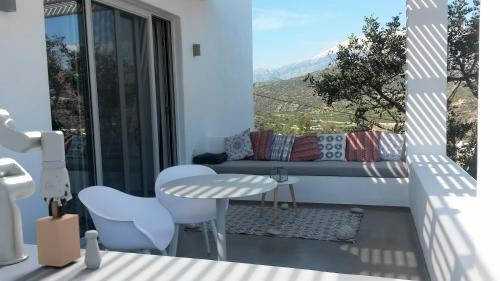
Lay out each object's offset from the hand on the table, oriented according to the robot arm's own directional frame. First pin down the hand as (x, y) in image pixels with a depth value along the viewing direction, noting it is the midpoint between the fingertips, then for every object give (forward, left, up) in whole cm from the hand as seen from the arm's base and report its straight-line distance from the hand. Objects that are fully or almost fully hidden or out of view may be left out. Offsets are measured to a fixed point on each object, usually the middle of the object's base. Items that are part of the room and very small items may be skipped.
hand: (57, 215), depth 158 cm
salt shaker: (+14, 0, -18) cm, 23 cm away
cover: (0, 0, -17) cm, 17 cm away
